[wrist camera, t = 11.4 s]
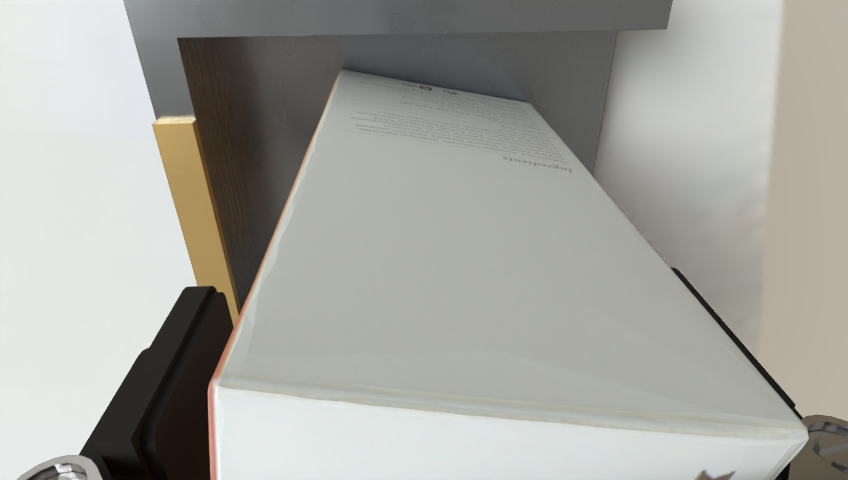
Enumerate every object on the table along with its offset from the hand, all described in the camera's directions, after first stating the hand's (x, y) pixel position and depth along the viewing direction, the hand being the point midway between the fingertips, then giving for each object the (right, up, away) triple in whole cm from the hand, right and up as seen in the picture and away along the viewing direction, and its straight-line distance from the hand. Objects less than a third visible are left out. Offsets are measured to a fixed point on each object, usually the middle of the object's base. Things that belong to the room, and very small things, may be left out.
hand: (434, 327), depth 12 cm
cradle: (-1, +4, +7) cm, 8 cm away
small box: (-1, +4, +6) cm, 7 cm away
